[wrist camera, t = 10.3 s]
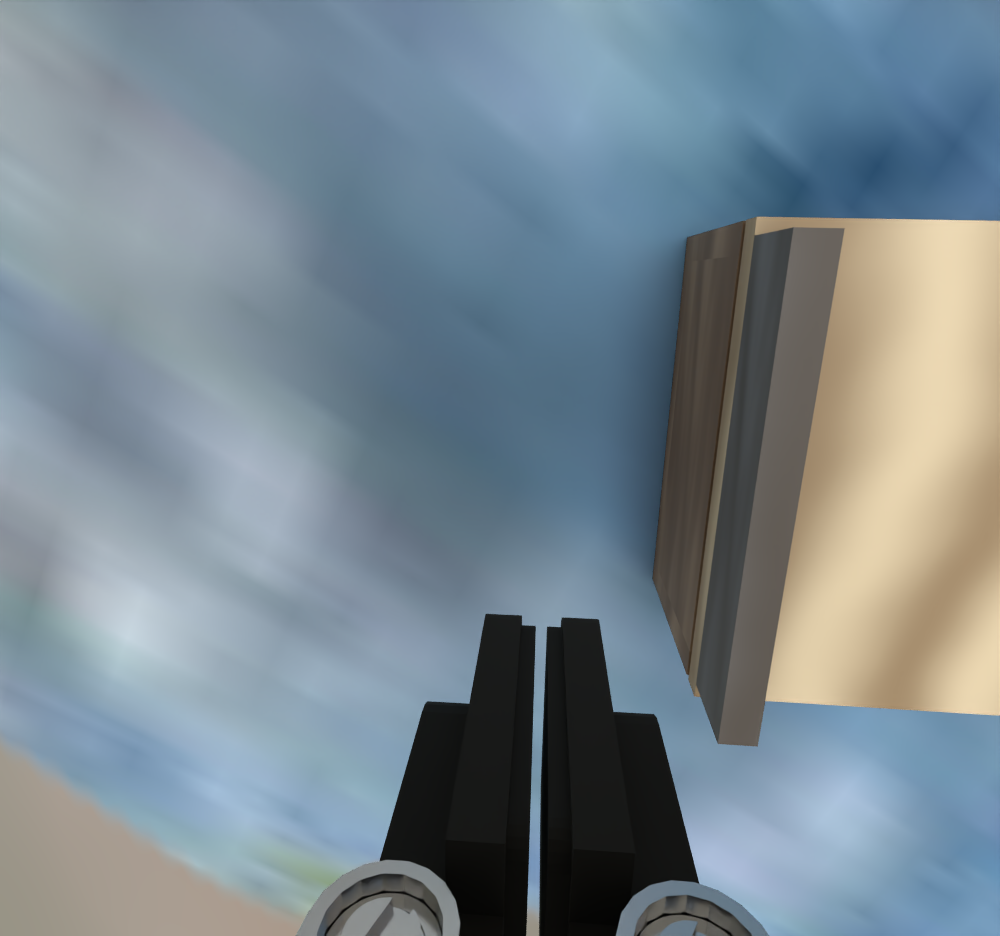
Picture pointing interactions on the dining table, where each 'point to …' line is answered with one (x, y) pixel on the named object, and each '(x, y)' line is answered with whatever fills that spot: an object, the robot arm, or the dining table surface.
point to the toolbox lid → (856, 475)
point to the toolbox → (695, 423)
